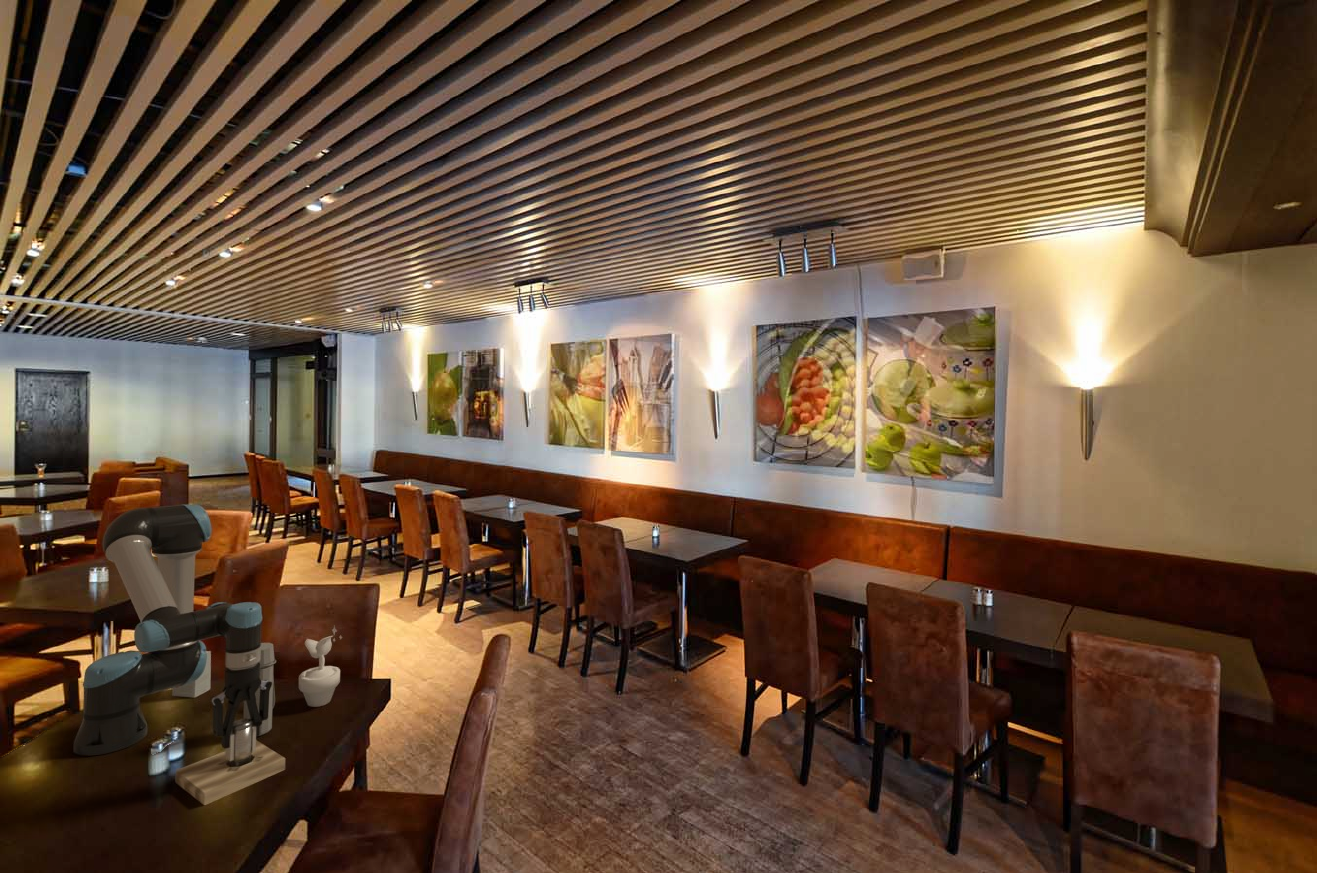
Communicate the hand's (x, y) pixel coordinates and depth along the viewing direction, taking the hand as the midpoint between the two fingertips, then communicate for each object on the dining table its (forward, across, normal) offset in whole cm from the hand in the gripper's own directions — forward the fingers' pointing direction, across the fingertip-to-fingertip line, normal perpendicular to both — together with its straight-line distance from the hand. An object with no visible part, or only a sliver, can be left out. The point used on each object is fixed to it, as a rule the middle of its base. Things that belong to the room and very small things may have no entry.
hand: (240, 754), depth 154 cm
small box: (+5, +12, +61) cm, 62 cm away
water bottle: (+5, +13, +18) cm, 23 cm away
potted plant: (+5, +32, +22) cm, 39 cm away
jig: (+5, -2, 0) cm, 5 cm away
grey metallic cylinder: (+4, 0, 0) cm, 4 cm away
